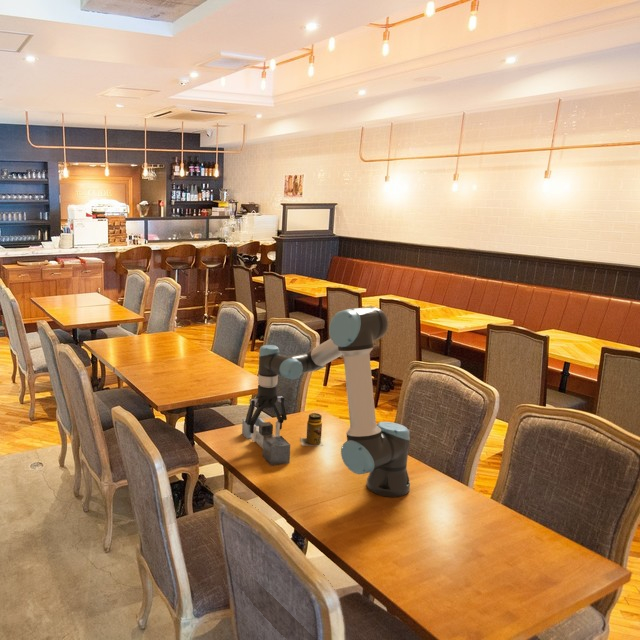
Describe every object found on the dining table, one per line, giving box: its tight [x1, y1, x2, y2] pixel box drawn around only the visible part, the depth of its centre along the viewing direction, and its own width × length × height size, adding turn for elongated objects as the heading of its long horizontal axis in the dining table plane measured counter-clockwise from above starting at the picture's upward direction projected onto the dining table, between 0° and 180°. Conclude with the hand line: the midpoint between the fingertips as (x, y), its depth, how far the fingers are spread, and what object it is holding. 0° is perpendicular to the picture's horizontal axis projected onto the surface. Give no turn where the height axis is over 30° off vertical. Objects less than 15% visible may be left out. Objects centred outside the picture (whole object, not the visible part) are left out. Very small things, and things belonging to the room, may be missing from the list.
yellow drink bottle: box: [300, 412, 324, 447], centre depth 243 cm, size 7×8×12 cm
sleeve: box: [262, 435, 291, 467], centre depth 225 cm, size 9×8×7 cm
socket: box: [241, 416, 266, 440], centre depth 247 cm, size 6×8×6 cm
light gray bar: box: [256, 421, 276, 450], centre depth 232 cm, size 22×4×9 cm, turn 26°
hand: (265, 438), depth 235 cm, fingers open, 9 cm apart
